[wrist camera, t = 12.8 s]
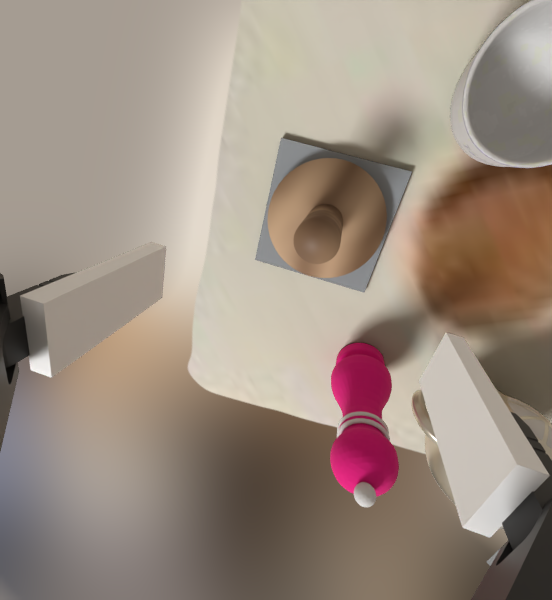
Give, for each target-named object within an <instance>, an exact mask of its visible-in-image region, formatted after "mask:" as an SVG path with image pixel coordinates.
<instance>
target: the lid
mask: <svg viewBox="0 0 552 600" xmlns="http://www.w3.org/2000/svg"><path fill="white" fill-rule="evenodd" d="M386 222H387V212H386V204H385V200H384V197H383V194H382V192H381V190H380V188H379V186H378V184H377V183H376V182H375V180H374V179H373V178H372V177H371V176H370V175H369V174H368V173H367V172H366V171H365V170H363V169H362V168H361V167H359V166H357V165H356V164H354V163H352V162H349V161H346V160H342V159H337V158H322V159H316V160H312V161H309V162H306V163H304V164H302V165H300V166H298V167H296V168H295V169H294V170H292V171H291V172H289V173H288V174H287V175H286V176H285V177H284V178H283V180H282V181H281V182H280V183H279V185H278V186H277V188H276V190H275V191H274V194H273V196H272V198H271V201H270V205H269V209H268V230H269V235H270V238H271V241H272V243H273V245H274V247H275V249H276V251H277V252H278V254H279V255H280V256H281V258H282V259H283V260H284V261H285V262H286V263H287V264H288V265H289V266H291V267H292V268H294V269H295V270H297V271H299V272H301V273H303V274H306V275H309V276H313V277H318V278H333V277H339V276H343V275H346V274H348V273H351V272H353V271H355V270H356V269H358V268H360V267H361V266H362V265H364V264H365V263H366V262H367V261H368V260H369V259H370V258H371V257H372V256H373V255H374V253H375V252H376V250H377V249H378V247H379V245H380V243H381V241H382V239H383V236H384V233H385V228H386Z"/></svg>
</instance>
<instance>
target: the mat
mask: <svg viewBox="0 0 552 600" xmlns="http://www.w3.org/2000/svg"><path fill="white" fill-rule="evenodd" d="M322 158H337V159H342V160H346V161H349V162H352V163H354V164H356V165H357V166H359V167H361V168H362V169H363V170H365V171H366V172H367V173H368V174H369V175H370V176H371V177H372V178H373V179H374V180H375V182H376V183H377V184H378V186H379V188H380V190H381V192H382V194H383V197H384V200H385V204H386V212H387V222H386V228H385V233H384V236H383V239H382V241H381V243H380V245H379V247H378V249H377V250H376V252H375V253H374V255H373V256H372V257H371V258H370V259H369V260H368V261H367V262H366V263H365V264H364V265H362V266H361V267H360V268H358V269H356V270H355V271H353V272H351V273H348V274H346V275H343V276H339V277H333V278H318V277H314V278H318V279H321V280H324V281H328V282H331V283H334V284H337V285H341V286H344V287H347V288H351V289H354V290H357V291H361V292H365V289H366V287H367V284H368V281H369V279H370V276H371V274H372V271H373V269H374V266H375V264H376V261H377V259H378V256H379V254H380V251H381V249H382V246H383V244H384V241H385V239H386V236H387V233H388V231H389V228H390V226H391V223H392V221H393V218H394V216H395V213H396V211H397V208H398V206H399V203H400V201H401V198H402V196H403V193H404V191H405V188H406V186H407V183H408V180H409V178H410V175H411V173H412V172H411V171H407V170H403V169H400V168H396V167H392V166H388V165H384V164H380V163H376V162H373V161H369V160H365V159H361V158H357V157H353V156H350V155H346V154H342V153H338V152H334V151H330V150H326V149H323V148H319V147H315V146H311V145H307V144H303V143H299V142H296V141H292V140H288V139H284V138H281V141H280V146H279V151H278V155H277V160H276V165H275V169H274V174H273V179H272V183H271V188H270V193H269V197H268V202H267V207H266V211H265V216H264V221H263V225H262V230H261V235H260V240H259V244H258V249H257V254H256V258H255V260H258V261H261V262H264V263H268V264H271V265H274V266H278V267H281V268H284V269H288V270H291V271H294V272H298V273H301V272H299V271H297V270H295V269H294V268H292V267H291V266H289V265H288V264H287V263H286V262H285V261H284V260H283V259H282V258H281V256H280V255H279V254H278V252H277V251H276V249H275V247H274V245H273V243H272V241H271V238H270V235H269V230H268V209H269V205H270V201H271V198H272V196H273V194H274V191H275V190H276V188H277V186H278V185H279V183H280V182H281V181H282V180H283V178H284V177H285V176H286V175H287V174H288V173H289V172H291V171H292V170H294V169H295V168H296V167H298V166H300V165H302V164H304V163H306V162H309V161H312V160H316V159H322ZM301 274H303V273H301ZM304 275H306V274H304ZM308 276H309V275H308ZM311 277H313V276H311Z"/></svg>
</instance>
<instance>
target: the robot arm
mask: <svg viewBox="0 0 552 600" xmlns="http://www.w3.org/2000/svg"><path fill="white" fill-rule="evenodd" d="M165 255H166V246H162V245H159V244H155V243H153V242H150V243H148V244H145V245H143V246H141V247H138V248H136V249H133V250H131V251H128V252H126V253H123V254H121V255H118V256H116V257H114V258H111V259H109V260H106V261H104V262H101V263H99V264H97V265H94V266H92V267H89V268H87V269H84V270H82V271H79V272H76V273H71V274H65V275H61V276H58V277H56V278H53V279H51V280H49V281H46V282H43V283H41V284H39V286H38V285H36V286H33V287H30V288H28V289H25V290H23V291H21V292H18V293H15V294H13V295H10V296H8V297H7V296H6V290H5V284H4V277H3V275H2V274H0V451H1V447H2V442H3V438H4V434H5V429H6V425H7V421H8V416H9V412H10V408H11V404H12V399H13V395H14V391H15V386H16V382H17V378H18V373H19V367H18V362H19V361H20V360H22V359H24V358H25V357H27V356H29V361H30V368H31V370H32V371H34V372H37V373H40V374H43V375H45V376H48V377H51V378H52V377H53V376H55V375H56V374H57V373H59V372H60V371H62V370H63V369H64V368H66V367H67V366H68V365H70V364H71V363H73V362H74V361H75V360H77V359H78V358H80V357H81V356H82V355H84V354H85V353H86V352H88V351H89V350H91V349H92V348H93V347H95V346H96V345H97V344H99V343H100V342H102V341H103V340H104V339H106V338H107V337H108V336H110V335H111V334H113V333H114V332H115V331H117V330H118V329H120V328H121V327H122V326H124V325H125V324H126V323H128V322H129V321H131V320H132V319H133V318H135V317H136V316H138V315H139V314H140V313H142V312H143V311H144V310H146V309H147V308H149V307H150V306H151V305H153V304H154V303H156V302H157V301H158V300H160V299H161V298H162V293H163V280H164V268H165ZM419 383H420V387H421V390H422V393H423V397H424V400H425V403H426V407H427V410H428V414H429V417H430V420H431V424H432V427H433V430H434V434H435V437H436V440H437V444H438V447H439V451H440V454H441V457H442V461H443V464H444V467H445V471H446V474H447V477H448V481H449V484H450V488H451V491H452V494H453V498H454V501H455V504H456V508H457V511H458V514H459V517H460V521H461V524H462V527H463V528H465V529H468V530H471V531H473V532H476V533H479V534H481V535H484V536H487V537H491V536H492V535H493V534H494V533H495V532H496V531H497V530H498V529H499V528H500V527H501V526H502V525H503V528H504V530H505V533H506V535H507V537H508V541H507V542H506V543H505V544H504V545H503V546H502V547H501V548H500V549H499V550H498V551H497V552H496V553H495V554H494V555H493V556H492V557H491V558H490V559H489V560H488V561H487V563H488V564H489V565H490V568H489V569H488V571H487V573H486V575H485V576H484V578H483V580H482V582H481V584H480V585H479V587H478V588H477V590H476V592H475V594H474V595H473V597H472V599H471V600H552V460H551V459H550V457H549V456H548V454H546V453H545V452H546V451H545V449H544V448H543V446H542V445H541V443H539V442H538V439H537V437H536V436H535V434H534V433H533V431H532V430H531V428H530V427H529V426H528V425H527V424H526V423H525V422H524V421H523V420H522V419H521V418H520V417H519V416H518V415H517V414H516V413H513V412H510V411H509V409H508V408H507V406H506V404H505V403H504V401H503V400H502V398H501V396H500V395H499V393H498V392H497V390H496V388H495V387H494V385H493V384H492V382H491V380H490V379H489V377H488V376H487V374H486V372H485V371H484V369H483V368H482V366H481V364H480V363H479V361H478V359H477V358H476V356H475V355H474V353H473V351H472V350H471V348H470V347H469V345H468V343H467V342H466V340H465V339H464V338H463V337H460V336H457V335H454V334H450V333H447V332H446V333H445V335H444V337H443V338H442V340H441V342H440V344H439V345H438V347H437V349H436V351H435V353H434V354H433V356H432V358H431V360H430V362H429V363H428V365H427V367H426V369H425V371H424V372H423V374H422V376H421V378H420V380H419Z"/></svg>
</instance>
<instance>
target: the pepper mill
mask: <svg viewBox="0 0 552 600" xmlns="http://www.w3.org/2000/svg"><path fill="white" fill-rule="evenodd" d="M331 387H332V391H333V394H334V397H335V399H336V401H337V403H338V404H339V406H340V408H341V410H342V413H343V418H342V419H341V420H340V421H339V423H338V427H337V431H338V432H337V439H336V440H335V441H334V443H333V446H332V449H331V456H330V457H331V460H330V461H331V467H332V470H333V473H334V476H335V477H336V479H337V481H338V482H339V483H340V484H341V485H342V487H344V488H345V489H346V490H348V491H349V492H351V493H353V494H354V497H355V500H356V501H357V503H359V505H361V506H363V507H370V506H372V505H373V504H374V503H375V500H376V496H379V495H382V494H384V493H385V492H387V491H388V490H390V488H391V487H392V486H393V484H394V483H395V481H396V479H397V476H398V469H399V464H398V457H397V453H396V450H395V449H394V446H393V445H392V444H391V442H390V438H389V431H388V427H387V425H386V424H385V422H384V421H383V420H382V410H383V408H384V406H385V405H386V403H387V402H388V400H389V397H390V393H391V388H392V383H391V376H390V373H389V371H388V369H387V368H386V367H385V364H384V359H383V356H382V354H381V353H380V351H379V350H378V349H376V348H375V347H373V346H372V345H369V344H366V343H353V344H350V345H347V346H346V347H344V348H343V349H342V350H341V351H340V352H339V354H338V356H337V361H336V366H335V368H334V370H333V372H332V376H331Z"/></svg>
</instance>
